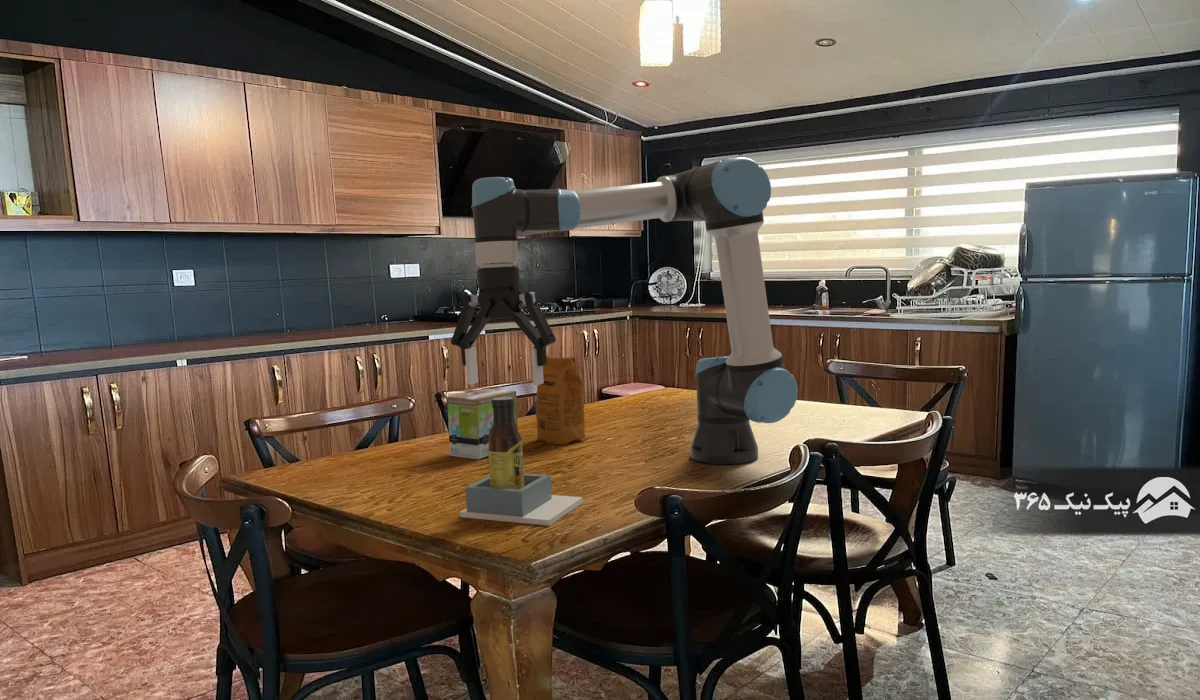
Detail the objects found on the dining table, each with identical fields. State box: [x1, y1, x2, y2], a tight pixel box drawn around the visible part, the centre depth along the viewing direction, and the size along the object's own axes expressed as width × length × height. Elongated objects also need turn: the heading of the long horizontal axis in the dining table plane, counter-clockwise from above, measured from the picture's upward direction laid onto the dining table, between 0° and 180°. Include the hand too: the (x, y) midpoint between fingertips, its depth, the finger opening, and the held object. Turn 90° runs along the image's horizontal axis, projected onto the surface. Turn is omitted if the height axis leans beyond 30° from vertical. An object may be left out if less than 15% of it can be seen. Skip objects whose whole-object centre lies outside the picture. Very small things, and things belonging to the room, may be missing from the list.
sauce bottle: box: [488, 397, 525, 490], centre depth 145 cm, size 7×6×20 cm
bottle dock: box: [459, 472, 584, 527], centre depth 146 cm, size 18×14×6 cm
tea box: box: [447, 388, 519, 460], centre depth 195 cm, size 15×10×15 cm, turn 148°
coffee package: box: [535, 354, 586, 446], centre depth 204 cm, size 10×12×22 cm
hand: (505, 384), depth 144 cm, fingers open, 13 cm apart
